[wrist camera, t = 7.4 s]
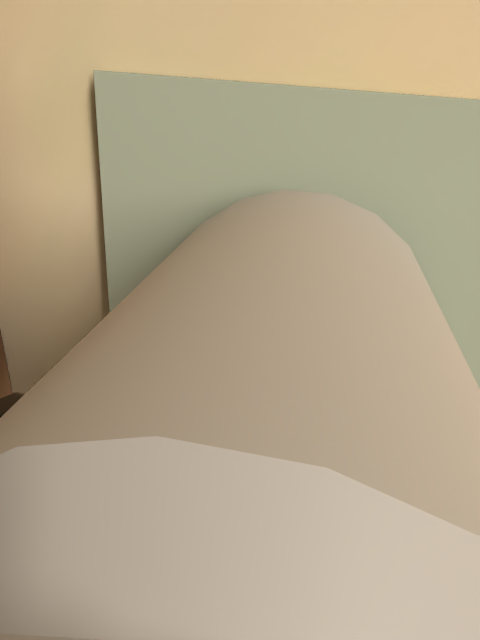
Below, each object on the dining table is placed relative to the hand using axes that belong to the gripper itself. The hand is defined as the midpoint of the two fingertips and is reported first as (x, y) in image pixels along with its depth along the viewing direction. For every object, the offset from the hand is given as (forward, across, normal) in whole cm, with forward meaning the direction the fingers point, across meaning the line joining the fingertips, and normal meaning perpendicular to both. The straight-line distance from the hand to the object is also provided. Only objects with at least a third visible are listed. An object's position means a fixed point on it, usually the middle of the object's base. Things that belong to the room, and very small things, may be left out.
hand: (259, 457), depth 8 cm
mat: (+7, 0, 0) cm, 7 cm away
